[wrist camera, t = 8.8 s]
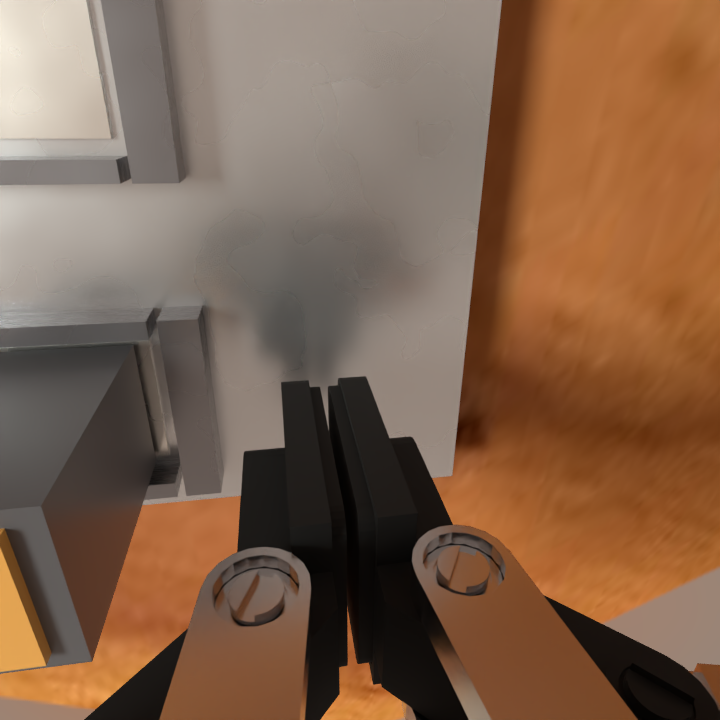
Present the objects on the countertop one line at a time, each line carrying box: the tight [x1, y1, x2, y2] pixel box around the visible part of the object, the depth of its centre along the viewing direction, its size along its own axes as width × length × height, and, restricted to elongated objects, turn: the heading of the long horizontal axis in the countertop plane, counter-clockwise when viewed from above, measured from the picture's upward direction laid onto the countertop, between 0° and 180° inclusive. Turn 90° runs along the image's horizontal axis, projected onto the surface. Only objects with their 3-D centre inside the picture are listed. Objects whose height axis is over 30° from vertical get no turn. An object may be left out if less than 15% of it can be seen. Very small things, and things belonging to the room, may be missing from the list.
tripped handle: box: [0, 345, 156, 674], centre depth 9 cm, size 3×3×5 cm
